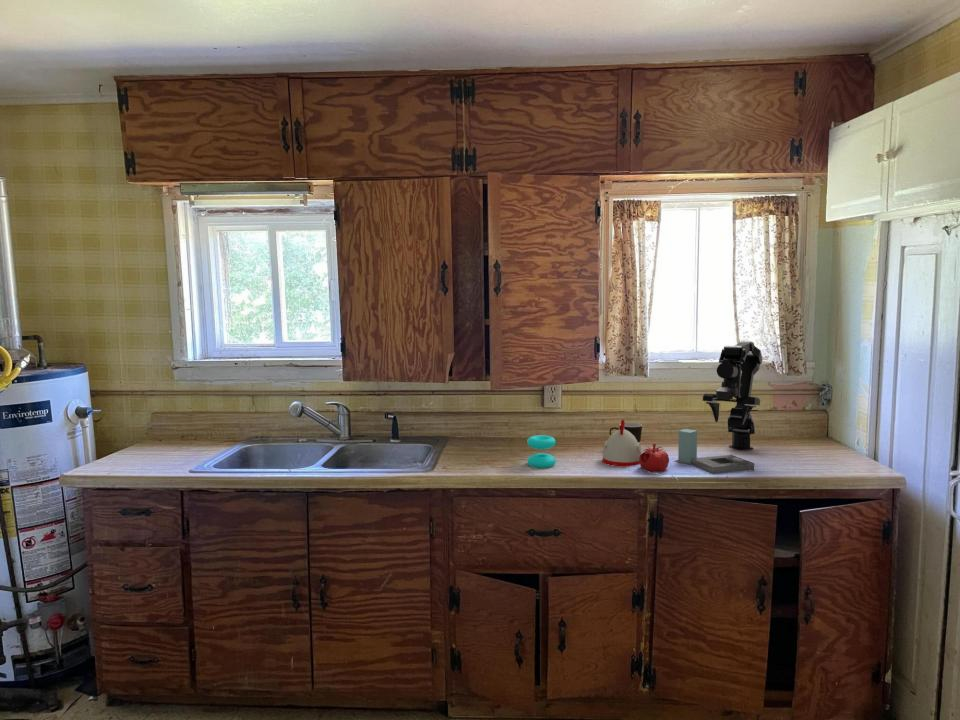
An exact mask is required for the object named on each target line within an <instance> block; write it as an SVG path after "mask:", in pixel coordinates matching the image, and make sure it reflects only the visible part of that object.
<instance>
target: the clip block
mask: <svg viewBox="0 0 960 720" xmlns="http://www.w3.org/2000/svg"><path fill="white" fill-rule="evenodd" d="M677 446H678V451H677V452H678V455H677V456H678V457H677V460H678V461H679V462H684V463H689V464H690V463H692V458H698V457H697V456H698V452H697V451H698V430H695V429H688V428H683V429H681V430H678V445H677Z"/></svg>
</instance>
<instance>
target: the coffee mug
mask: <svg viewBox="0 0 960 720" xmlns="http://www.w3.org/2000/svg"><path fill="white" fill-rule="evenodd" d="M620 429H621V423H619V426H618V427H611V428H610V429H609V435H610V436H611V435H612V434H613V433H612V430H616V431H617V430H620ZM625 430H627V431H629V432H630V433H631V434H632V435H633V436H634V437H635V438H636V440H637V442H638V443H639V442H640V443H641V441H642V440H641V439H642V434H643V433H642V431H643V424H641V423H638V422H625Z"/></svg>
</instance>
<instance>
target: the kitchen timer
mask: <svg viewBox="0 0 960 720" xmlns="http://www.w3.org/2000/svg"><path fill="white" fill-rule="evenodd" d="M625 423H626V422H625V419H621V421H620V424H621V429H620V428H619V429H620V430H617V429H616V430H615V431H614V432H613V433H611V434H612V435H610V436H609V438H608V439H607V440H605V442H604V445H603V452H602V463H603V464H605V463H606V464H605V465H607V464H609V466H611V465H615V466H614V467H618V466H636V465H640V461H639V456H640V455H641V454H642V453H643V450H642V446H641V441H640V442H639V443H638V442H637V440H636V438H635V437H634V436H633V435H632V434H631V433H630V432H629V431H627V430H625Z"/></svg>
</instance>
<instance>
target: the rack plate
mask: <svg viewBox="0 0 960 720" xmlns="http://www.w3.org/2000/svg"><path fill="white" fill-rule="evenodd" d="M691 466H694V467H696V468H699V469H701V470H703V471H706V472H708V473H710V474H713V475H715V474H723V473H733V472H744V471H748V470H754V471H755V462H753V461H749V460H746V459H745V458H741V457H739V456H737V455H733V454H727V455H714V456H705V457H697V458H692V465H691Z"/></svg>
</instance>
